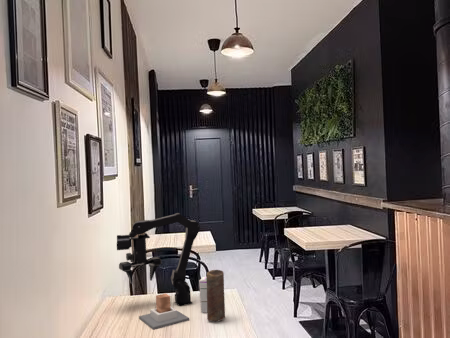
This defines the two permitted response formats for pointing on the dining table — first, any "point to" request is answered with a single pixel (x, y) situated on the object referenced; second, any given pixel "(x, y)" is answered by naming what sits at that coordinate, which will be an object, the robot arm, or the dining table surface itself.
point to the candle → (215, 295)
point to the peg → (163, 303)
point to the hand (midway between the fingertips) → (141, 282)
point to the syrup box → (203, 294)
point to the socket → (163, 318)
